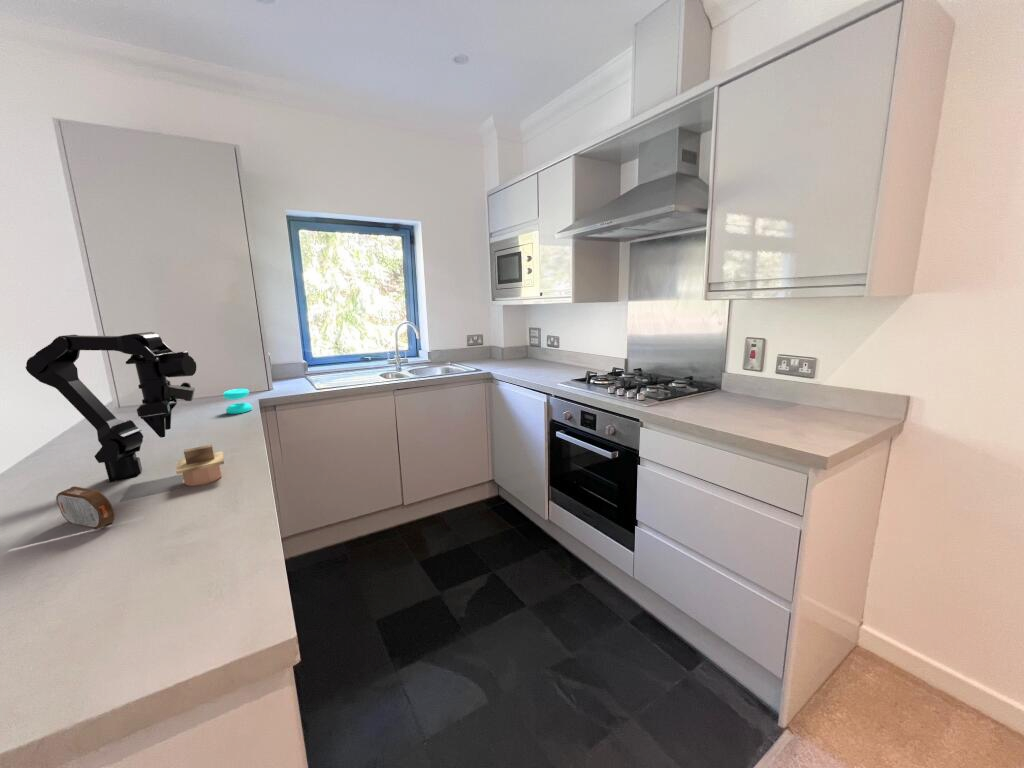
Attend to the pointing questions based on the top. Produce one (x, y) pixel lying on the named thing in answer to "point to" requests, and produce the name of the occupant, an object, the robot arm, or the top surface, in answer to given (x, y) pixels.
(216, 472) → the bowl
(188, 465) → the lid
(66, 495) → the tin
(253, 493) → the top surface
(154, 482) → the mat
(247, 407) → the pair of cyan discs
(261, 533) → the top surface
